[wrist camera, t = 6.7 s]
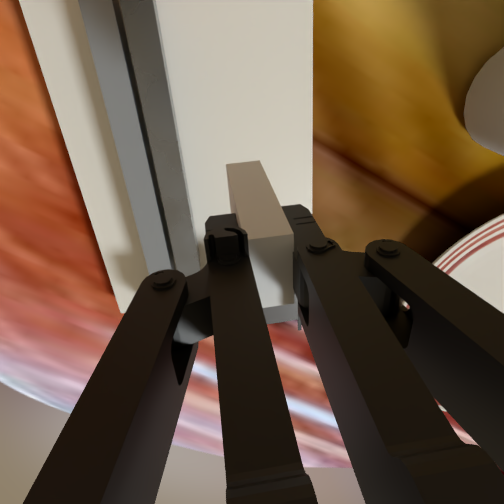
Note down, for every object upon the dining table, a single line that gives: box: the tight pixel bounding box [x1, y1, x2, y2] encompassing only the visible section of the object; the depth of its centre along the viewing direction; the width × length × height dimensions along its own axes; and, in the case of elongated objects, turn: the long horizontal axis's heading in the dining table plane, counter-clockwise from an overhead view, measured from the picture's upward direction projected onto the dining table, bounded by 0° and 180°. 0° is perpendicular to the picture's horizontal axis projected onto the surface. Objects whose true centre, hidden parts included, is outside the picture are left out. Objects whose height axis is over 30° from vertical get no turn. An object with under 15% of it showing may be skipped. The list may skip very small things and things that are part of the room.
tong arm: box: [119, 0, 201, 276], centre depth 25 cm, size 17×2×2 cm, turn 4°
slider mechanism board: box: [19, 0, 313, 324], centre depth 24 cm, size 28×16×6 cm, turn 4°
